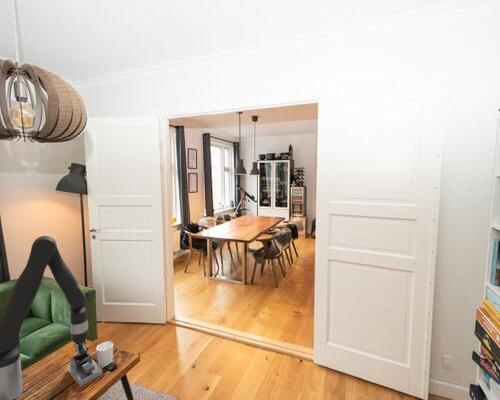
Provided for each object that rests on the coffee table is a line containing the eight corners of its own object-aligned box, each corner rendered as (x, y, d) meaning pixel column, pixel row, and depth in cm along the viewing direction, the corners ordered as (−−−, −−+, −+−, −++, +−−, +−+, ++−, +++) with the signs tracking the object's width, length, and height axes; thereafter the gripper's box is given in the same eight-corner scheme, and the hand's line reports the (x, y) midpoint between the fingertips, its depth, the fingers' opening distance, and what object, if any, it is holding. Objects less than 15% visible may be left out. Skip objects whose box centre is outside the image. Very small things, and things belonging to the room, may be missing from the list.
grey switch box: (80, 386, 126) (79, 373, 125) (67, 371, 136) (67, 358, 135) (102, 374, 134) (101, 361, 133) (88, 360, 144) (88, 348, 143)
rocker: (87, 373, 128) (86, 370, 128) (81, 368, 133) (81, 365, 133) (94, 369, 131) (94, 366, 131) (89, 364, 135) (88, 361, 135)
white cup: (102, 370, 136) (101, 352, 135) (94, 365, 141) (93, 347, 140) (116, 361, 143) (116, 344, 142) (108, 356, 147) (107, 339, 146)
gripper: (66, 328, 136) (68, 359, 138) (76, 337, 128) (78, 370, 130) (82, 321, 142) (84, 351, 144) (93, 330, 134) (94, 362, 136)
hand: (81, 360), depth 137 cm, fingers closed
